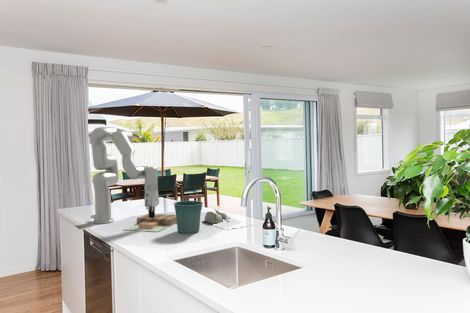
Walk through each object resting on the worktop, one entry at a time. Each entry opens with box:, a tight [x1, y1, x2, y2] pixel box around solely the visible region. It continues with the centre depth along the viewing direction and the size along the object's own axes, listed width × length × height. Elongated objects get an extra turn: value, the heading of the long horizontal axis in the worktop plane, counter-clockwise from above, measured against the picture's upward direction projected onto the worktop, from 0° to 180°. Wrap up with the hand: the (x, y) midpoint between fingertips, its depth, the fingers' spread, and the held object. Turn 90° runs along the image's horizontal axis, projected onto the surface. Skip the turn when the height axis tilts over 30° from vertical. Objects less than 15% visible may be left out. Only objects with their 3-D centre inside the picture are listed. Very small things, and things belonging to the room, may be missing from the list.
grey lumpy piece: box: [200, 209, 231, 226], centre depth 235 cm, size 33×8×20 cm
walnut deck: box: [136, 213, 177, 227], centre depth 237 cm, size 22×14×4 cm, turn 74°
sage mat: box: [123, 223, 170, 233], centre depth 223 cm, size 22×14×1 cm, turn 74°
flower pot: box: [173, 200, 204, 235], centre depth 214 cm, size 16×16×16 cm
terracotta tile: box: [138, 222, 157, 229], centre depth 224 cm, size 9×6×2 cm, turn 75°
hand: (151, 217), depth 229 cm, fingers closed
